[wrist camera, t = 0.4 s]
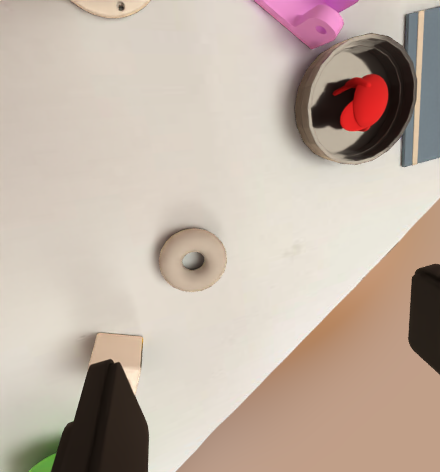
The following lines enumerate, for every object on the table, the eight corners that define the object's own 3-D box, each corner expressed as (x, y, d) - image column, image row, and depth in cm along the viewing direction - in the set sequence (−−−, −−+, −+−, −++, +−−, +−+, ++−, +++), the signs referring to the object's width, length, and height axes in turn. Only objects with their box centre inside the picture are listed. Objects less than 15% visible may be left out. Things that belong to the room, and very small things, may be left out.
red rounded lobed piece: (352, 63, 40) (383, 55, 35) (379, 93, 42) (412, 90, 37) (313, 115, 42) (336, 116, 36) (341, 142, 44) (367, 146, 38)
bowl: (287, 55, 39) (301, 48, 35) (394, 30, 40) (420, 21, 36) (300, 171, 45) (313, 176, 41) (393, 146, 46) (414, 149, 42)
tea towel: (405, 14, 39) (409, 13, 39) (467, 1, 40) (472, -1, 40) (401, 166, 47) (404, 167, 47) (453, 152, 48) (457, 153, 48)
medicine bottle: (135, 369, 52) (130, 437, 41) (91, 367, 50) (73, 437, 39) (143, 335, 50) (139, 397, 39) (97, 331, 48) (79, 395, 37)
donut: (221, 283, 49) (227, 225, 45) (225, 295, 46) (232, 234, 42) (158, 284, 47) (159, 224, 43) (158, 297, 44) (159, 233, 40)
